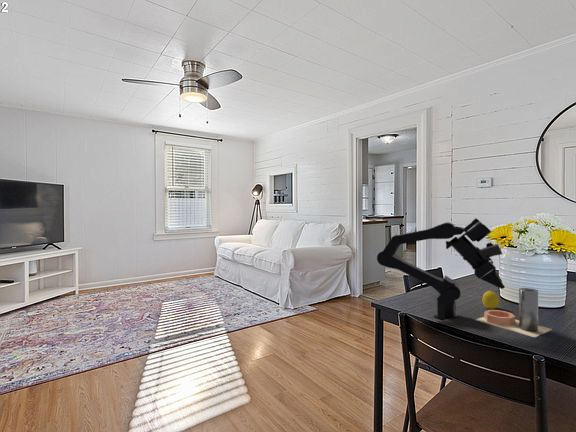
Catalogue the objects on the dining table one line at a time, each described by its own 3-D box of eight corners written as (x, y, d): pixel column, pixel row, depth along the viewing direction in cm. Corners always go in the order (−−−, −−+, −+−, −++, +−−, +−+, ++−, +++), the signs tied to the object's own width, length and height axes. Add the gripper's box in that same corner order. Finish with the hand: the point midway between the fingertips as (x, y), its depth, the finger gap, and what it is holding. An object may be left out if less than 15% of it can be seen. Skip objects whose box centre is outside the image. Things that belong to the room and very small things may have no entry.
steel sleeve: (533, 333, 102) (533, 292, 102) (516, 328, 107) (515, 289, 106) (541, 329, 105) (541, 290, 104) (523, 325, 109) (523, 286, 109)
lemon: (479, 309, 129) (479, 289, 129) (489, 307, 131) (489, 288, 131) (492, 313, 124) (492, 292, 124) (502, 311, 126) (502, 291, 126)
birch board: (534, 340, 99) (534, 337, 99) (474, 322, 115) (474, 319, 115) (552, 332, 105) (552, 329, 105) (493, 316, 121) (493, 313, 121)
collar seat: (506, 327, 108) (505, 319, 108) (480, 319, 115) (480, 312, 115) (519, 322, 112) (519, 315, 112) (493, 315, 119) (493, 308, 119)
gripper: (488, 238, 105) (528, 276, 100) (485, 233, 121) (519, 265, 117) (459, 259, 109) (496, 297, 105) (460, 252, 126) (492, 284, 121)
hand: (502, 284), depth 112 cm, fingers open, 9 cm apart
